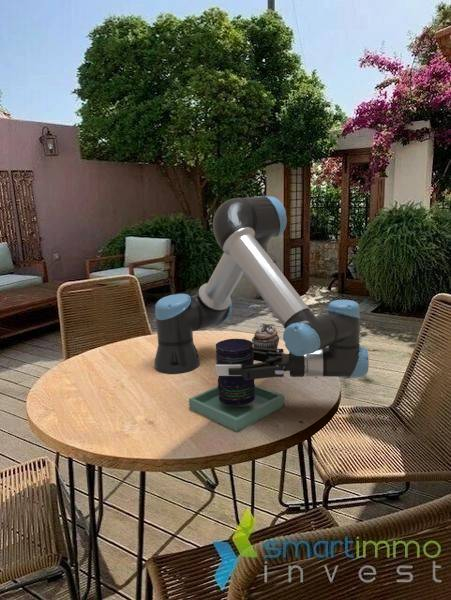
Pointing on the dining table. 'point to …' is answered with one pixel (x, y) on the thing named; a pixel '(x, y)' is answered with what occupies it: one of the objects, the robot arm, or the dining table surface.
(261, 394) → the tray
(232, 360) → the dark blue ribbed cylinder
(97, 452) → the dining table surface
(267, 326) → the cupcake
